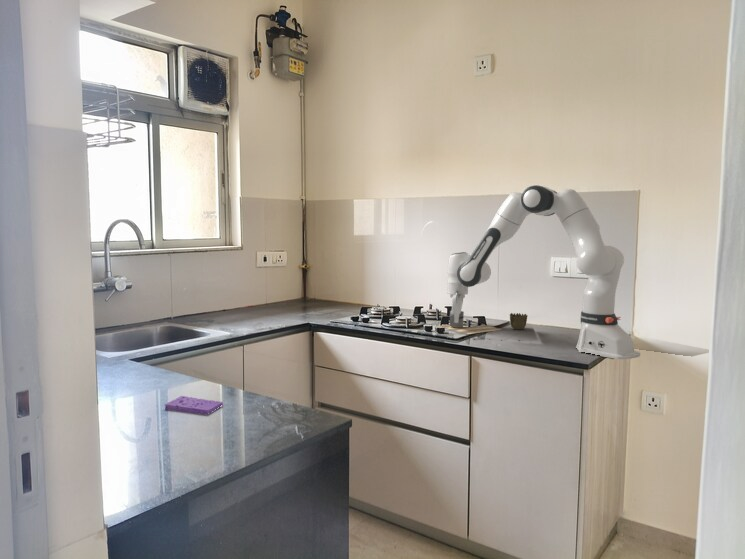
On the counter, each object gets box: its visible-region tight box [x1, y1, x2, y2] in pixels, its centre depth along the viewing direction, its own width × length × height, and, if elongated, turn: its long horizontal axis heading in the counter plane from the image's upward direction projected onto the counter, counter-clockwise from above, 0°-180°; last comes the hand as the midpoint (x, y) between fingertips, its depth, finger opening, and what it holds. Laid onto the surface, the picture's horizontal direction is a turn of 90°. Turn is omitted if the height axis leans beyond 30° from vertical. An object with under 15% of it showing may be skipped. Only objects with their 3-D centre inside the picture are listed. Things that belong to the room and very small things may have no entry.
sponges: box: [164, 395, 224, 415], centre depth 143 cm, size 7×13×2 cm, turn 73°
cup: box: [509, 312, 528, 331], centre depth 245 cm, size 8×7×8 cm
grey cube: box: [449, 310, 465, 327], centre depth 248 cm, size 6×6×6 cm
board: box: [436, 324, 503, 335], centre depth 247 cm, size 20×20×2 cm
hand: (456, 321), depth 248 cm, fingers closed on grey cube, 6 cm apart
